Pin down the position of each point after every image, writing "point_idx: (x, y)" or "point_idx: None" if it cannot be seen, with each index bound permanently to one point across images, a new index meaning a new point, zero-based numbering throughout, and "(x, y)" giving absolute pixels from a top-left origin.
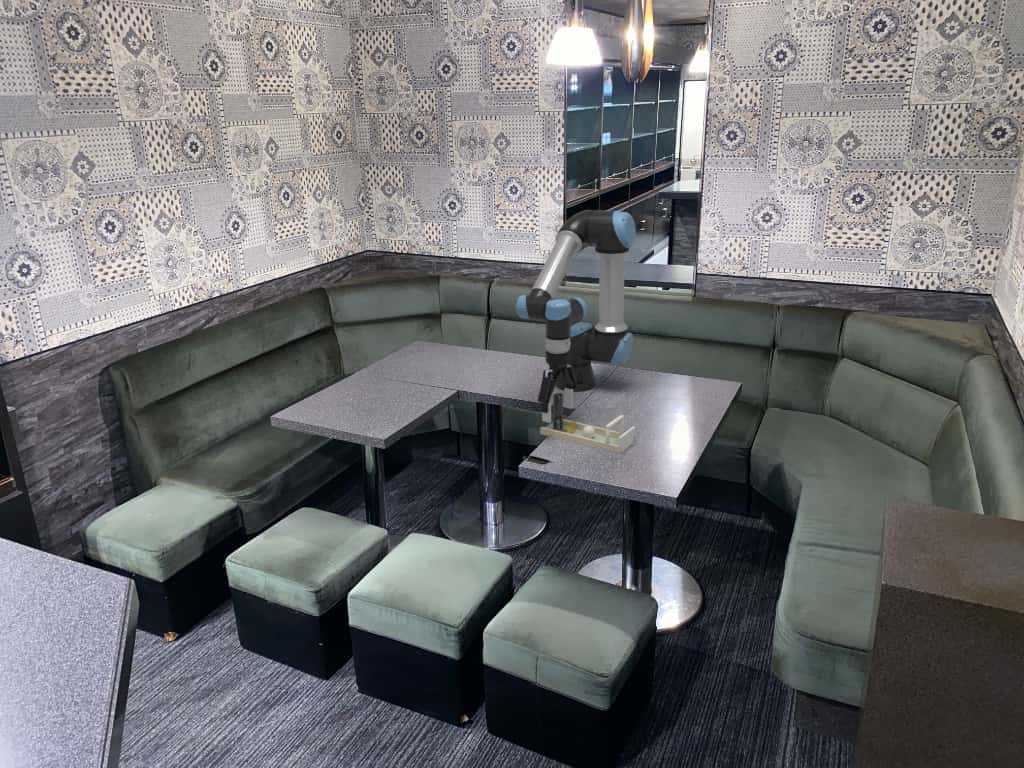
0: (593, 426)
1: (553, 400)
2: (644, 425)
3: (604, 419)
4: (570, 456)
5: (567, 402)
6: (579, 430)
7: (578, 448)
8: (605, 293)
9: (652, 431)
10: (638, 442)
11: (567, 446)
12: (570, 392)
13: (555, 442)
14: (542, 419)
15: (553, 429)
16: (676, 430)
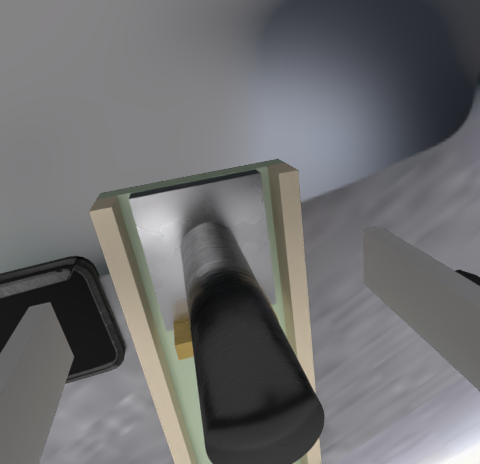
0: (309, 378)
1: (205, 366)
2: (468, 386)
3: (463, 264)
4: (59, 425)
5: (389, 271)
6: (278, 308)
7: (148, 392)
8: None
9: (434, 428)
10: (335, 459)
11: (126, 354)
12: (458, 359)
13: (116, 292)
14: (24, 316)
15: (164, 254)
16: (469, 455)
